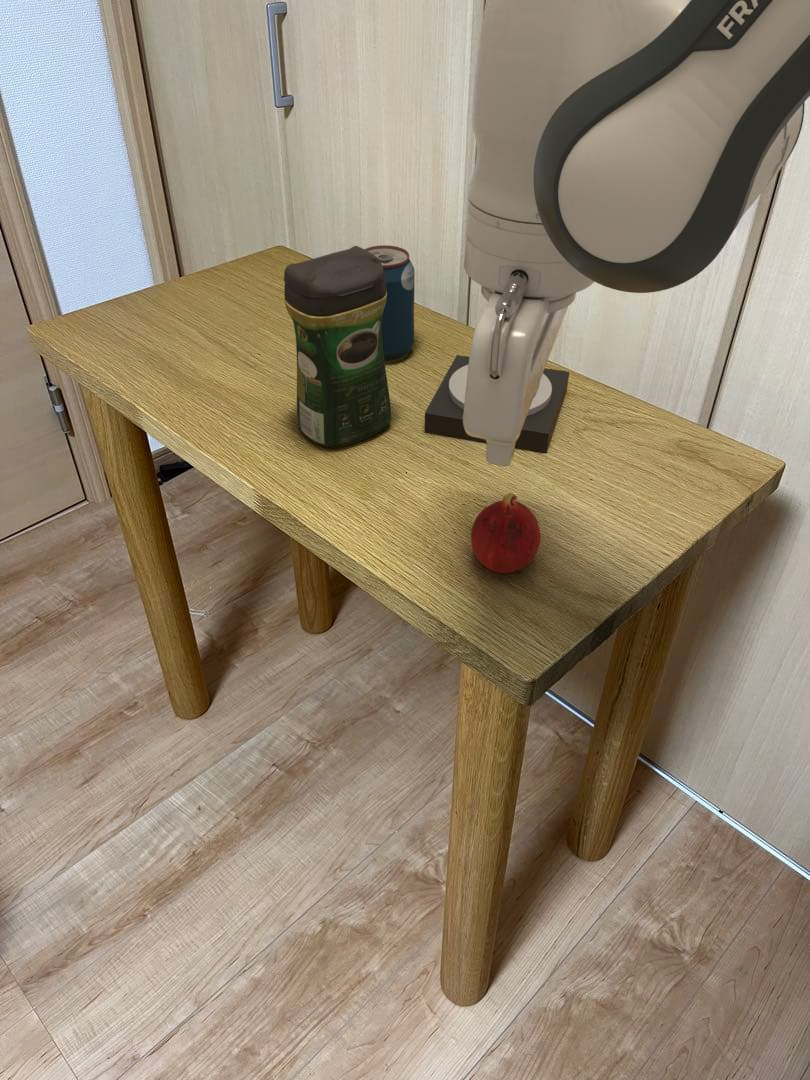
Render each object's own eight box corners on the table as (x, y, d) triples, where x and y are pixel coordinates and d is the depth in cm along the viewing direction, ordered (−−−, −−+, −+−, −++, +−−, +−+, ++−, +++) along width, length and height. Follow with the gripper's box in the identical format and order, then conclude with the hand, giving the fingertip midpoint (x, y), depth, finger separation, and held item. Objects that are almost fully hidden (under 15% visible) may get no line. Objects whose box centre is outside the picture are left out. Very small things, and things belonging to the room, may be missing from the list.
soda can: (425, 351, 103) (427, 254, 95) (385, 371, 99) (384, 273, 91) (385, 332, 107) (383, 238, 99) (345, 352, 103) (340, 255, 95)
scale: (566, 390, 96) (570, 365, 94) (546, 453, 87) (549, 426, 84) (455, 373, 99) (456, 348, 97) (424, 432, 90) (424, 406, 87)
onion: (538, 593, 71) (549, 520, 66) (470, 592, 71) (475, 519, 66) (532, 547, 75) (541, 475, 70) (467, 547, 76) (472, 474, 70)
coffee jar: (361, 396, 95) (354, 232, 83) (402, 428, 90) (401, 258, 78) (285, 424, 91) (266, 255, 79) (324, 459, 86) (311, 284, 74)
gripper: (554, 321, 46) (527, 516, 56) (602, 197, 61) (575, 367, 70) (443, 305, 48) (435, 498, 57) (517, 188, 63) (501, 356, 72)
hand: (513, 425), depth 64 cm, fingers open, 8 cm apart
